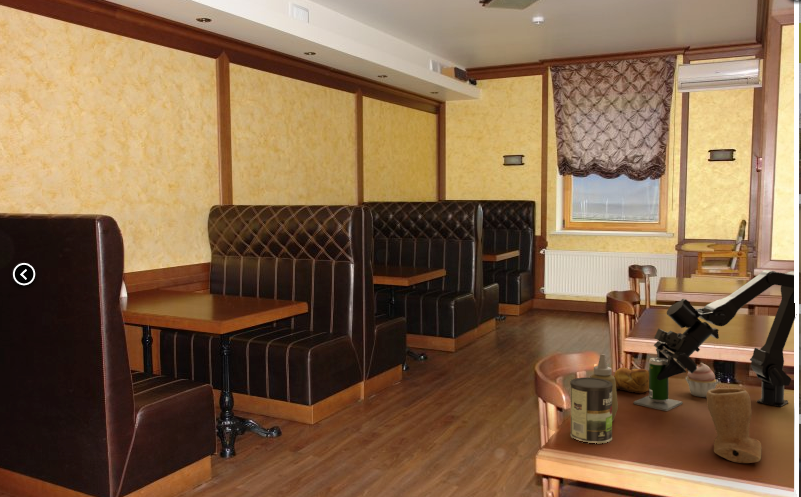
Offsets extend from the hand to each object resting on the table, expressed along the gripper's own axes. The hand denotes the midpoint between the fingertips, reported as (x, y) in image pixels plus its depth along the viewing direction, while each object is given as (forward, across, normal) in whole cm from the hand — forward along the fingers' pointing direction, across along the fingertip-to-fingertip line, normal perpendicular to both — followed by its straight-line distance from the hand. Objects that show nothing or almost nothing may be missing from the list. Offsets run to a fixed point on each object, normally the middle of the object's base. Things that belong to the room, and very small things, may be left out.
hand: (654, 376), depth 192 cm
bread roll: (+7, -15, +4) cm, 17 cm away
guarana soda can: (+4, 0, +6) cm, 7 cm away
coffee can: (+24, +27, -12) cm, 38 cm away
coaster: (+5, 0, +6) cm, 8 cm away
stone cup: (+3, +38, +9) cm, 39 cm away
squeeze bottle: (+19, +14, -8) cm, 25 cm away
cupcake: (-6, -9, +18) cm, 21 cm away
